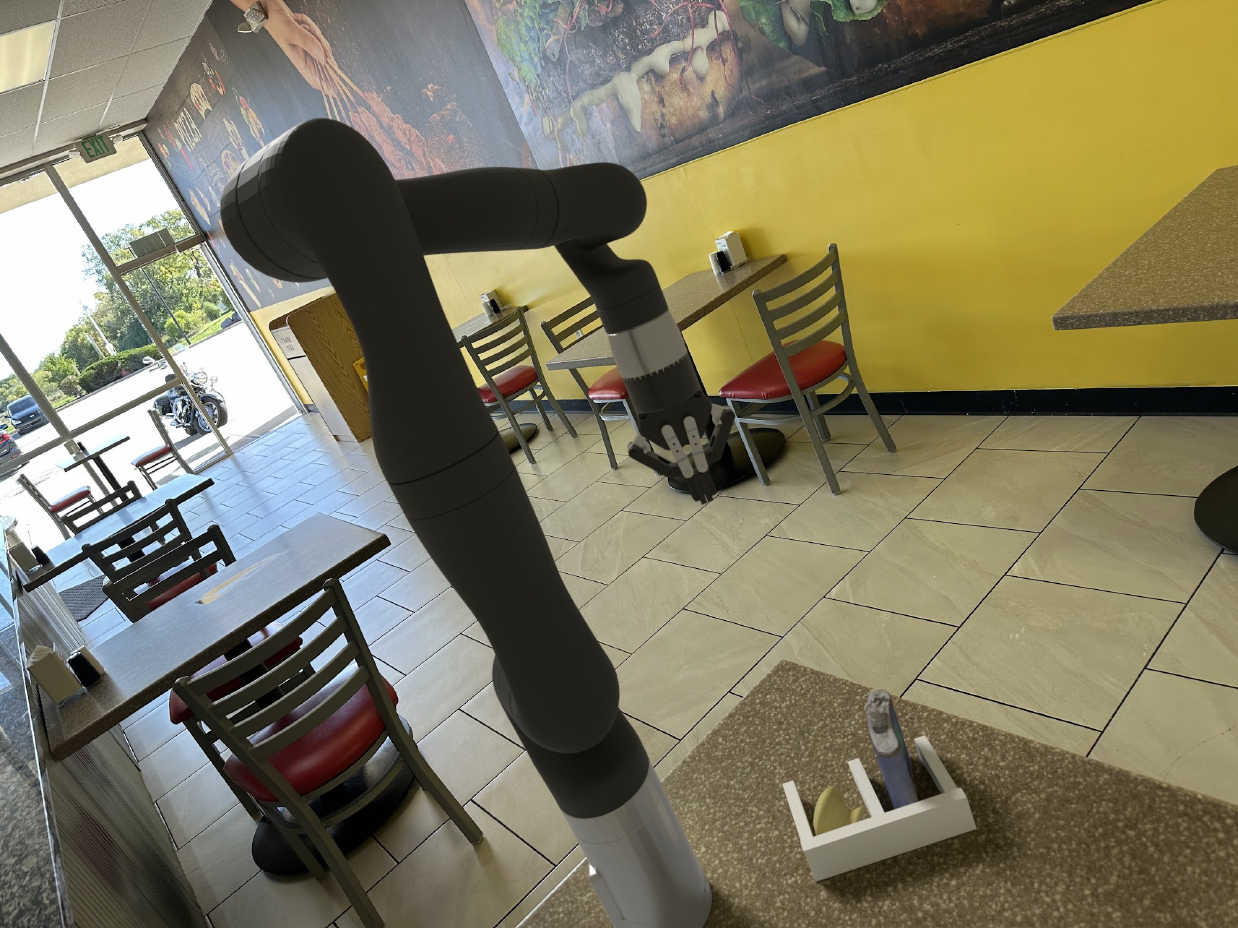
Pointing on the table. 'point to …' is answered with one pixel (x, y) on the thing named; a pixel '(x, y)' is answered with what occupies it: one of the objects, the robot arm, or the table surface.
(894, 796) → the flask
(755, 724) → the table surface
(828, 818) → the knob
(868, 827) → the rack
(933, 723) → the table surface
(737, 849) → the table surface
